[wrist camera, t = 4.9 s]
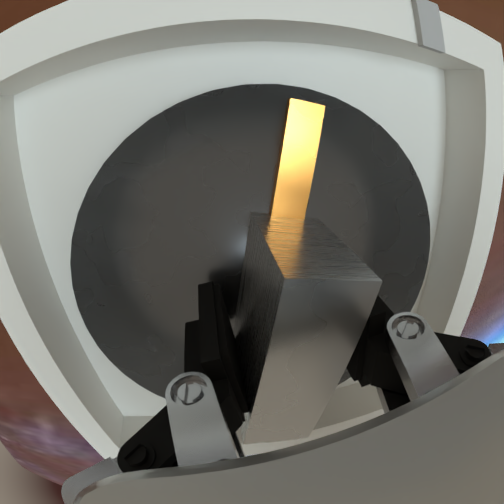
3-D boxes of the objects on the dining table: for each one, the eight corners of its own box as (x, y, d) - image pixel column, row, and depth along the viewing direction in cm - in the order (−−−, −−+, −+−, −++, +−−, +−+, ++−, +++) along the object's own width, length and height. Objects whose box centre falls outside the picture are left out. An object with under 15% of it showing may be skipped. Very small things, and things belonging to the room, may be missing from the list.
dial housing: (399, 362, 22) (427, 404, 17) (112, 409, 19) (104, 463, 14) (441, 46, 11) (504, 42, 7) (4, 73, 8) (-59, 69, 4)
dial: (356, 382, 18) (391, 451, 13) (108, 386, 15) (93, 472, 9) (443, 140, 11) (540, 169, 6) (84, 77, 8) (-11, 56, 3)
